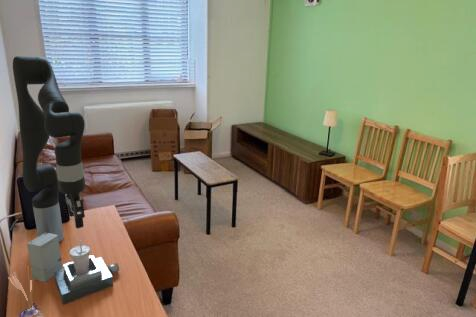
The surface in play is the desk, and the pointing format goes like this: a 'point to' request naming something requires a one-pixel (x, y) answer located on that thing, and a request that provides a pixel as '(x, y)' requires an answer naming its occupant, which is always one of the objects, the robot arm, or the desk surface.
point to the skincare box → (45, 256)
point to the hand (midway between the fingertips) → (76, 221)
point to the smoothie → (80, 258)
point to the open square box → (84, 279)
